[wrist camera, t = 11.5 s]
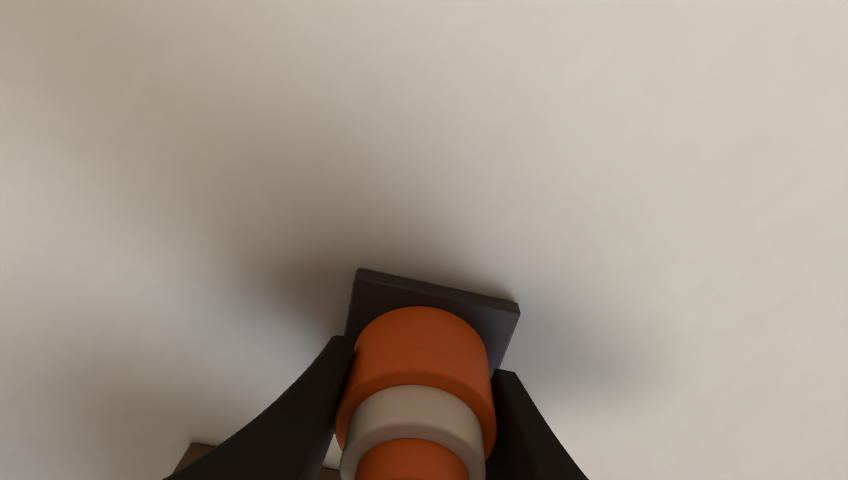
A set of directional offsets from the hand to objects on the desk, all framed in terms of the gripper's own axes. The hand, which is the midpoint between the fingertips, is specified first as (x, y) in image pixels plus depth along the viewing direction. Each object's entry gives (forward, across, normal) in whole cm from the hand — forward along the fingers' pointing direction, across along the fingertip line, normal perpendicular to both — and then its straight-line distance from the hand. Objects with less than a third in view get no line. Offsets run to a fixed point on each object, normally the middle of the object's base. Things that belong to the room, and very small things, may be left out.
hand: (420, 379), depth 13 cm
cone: (+1, 0, 0) cm, 1 cm away
